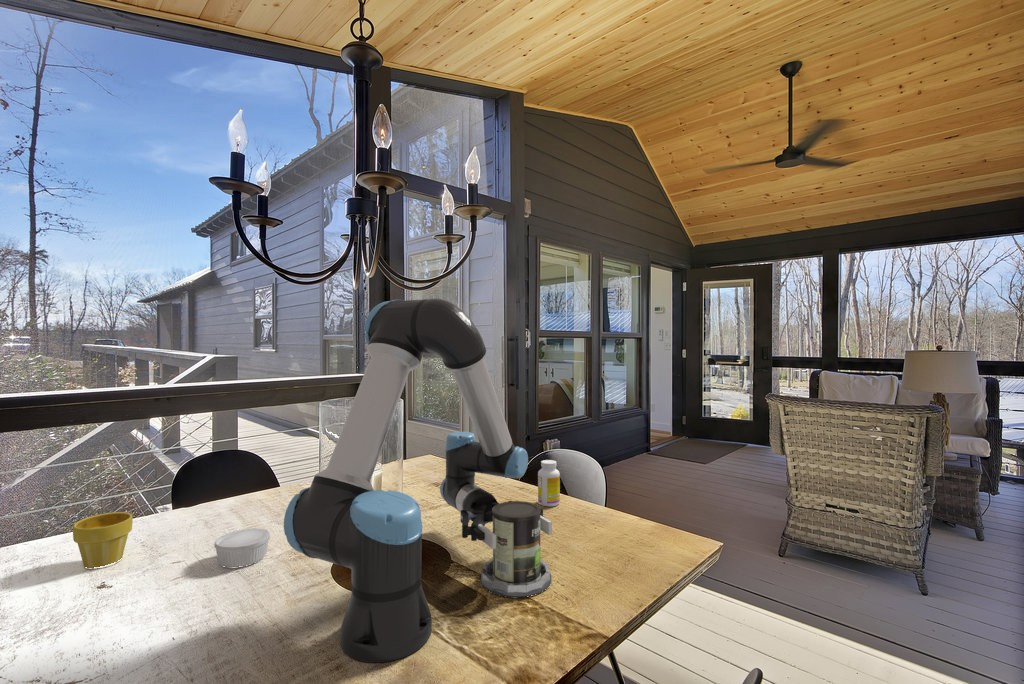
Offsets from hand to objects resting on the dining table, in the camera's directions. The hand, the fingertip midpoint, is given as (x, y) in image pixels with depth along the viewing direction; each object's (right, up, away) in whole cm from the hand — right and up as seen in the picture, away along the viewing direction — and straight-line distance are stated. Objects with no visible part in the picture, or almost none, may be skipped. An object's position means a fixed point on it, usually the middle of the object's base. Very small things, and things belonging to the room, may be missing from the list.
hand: (523, 535), depth 102 cm
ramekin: (-64, -10, +12) cm, 66 cm away
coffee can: (-1, -10, +3) cm, 10 cm away
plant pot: (-94, -10, +10) cm, 95 cm away
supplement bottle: (+9, -10, +49) cm, 51 cm away
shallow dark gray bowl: (-1, -10, +2) cm, 11 cm away
